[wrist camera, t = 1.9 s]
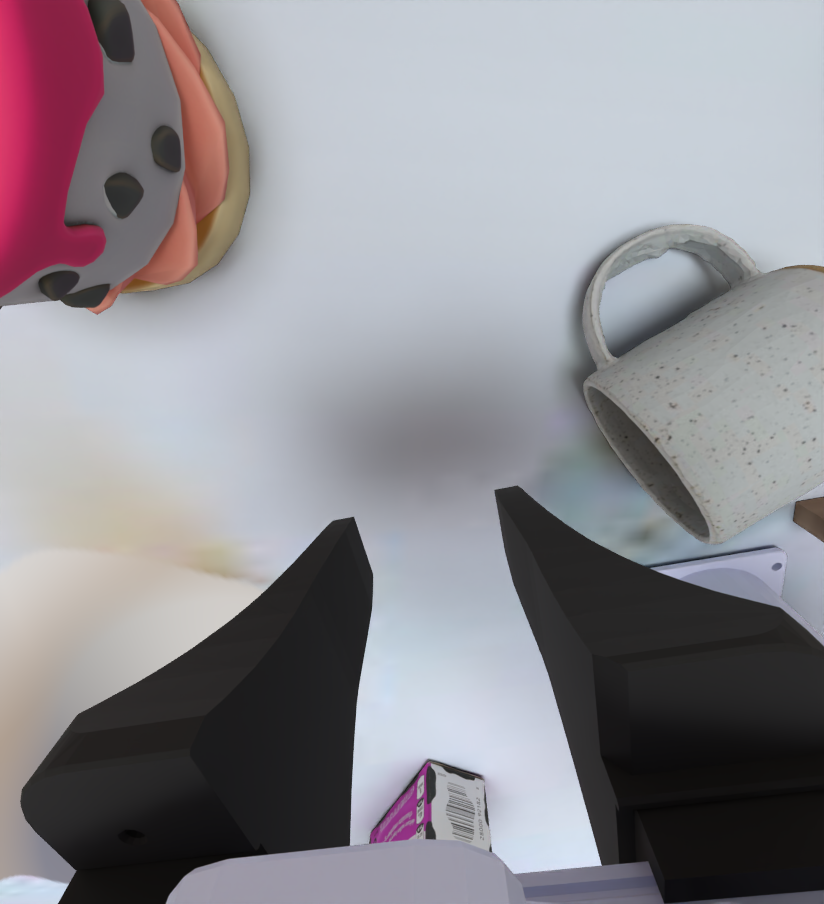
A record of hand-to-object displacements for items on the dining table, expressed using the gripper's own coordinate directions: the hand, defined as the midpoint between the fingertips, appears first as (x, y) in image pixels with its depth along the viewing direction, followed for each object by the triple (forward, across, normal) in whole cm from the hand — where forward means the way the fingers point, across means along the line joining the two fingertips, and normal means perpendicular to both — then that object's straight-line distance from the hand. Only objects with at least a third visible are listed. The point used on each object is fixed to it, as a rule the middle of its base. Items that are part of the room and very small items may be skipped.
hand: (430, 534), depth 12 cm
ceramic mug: (+10, -11, 0) cm, 15 cm away
